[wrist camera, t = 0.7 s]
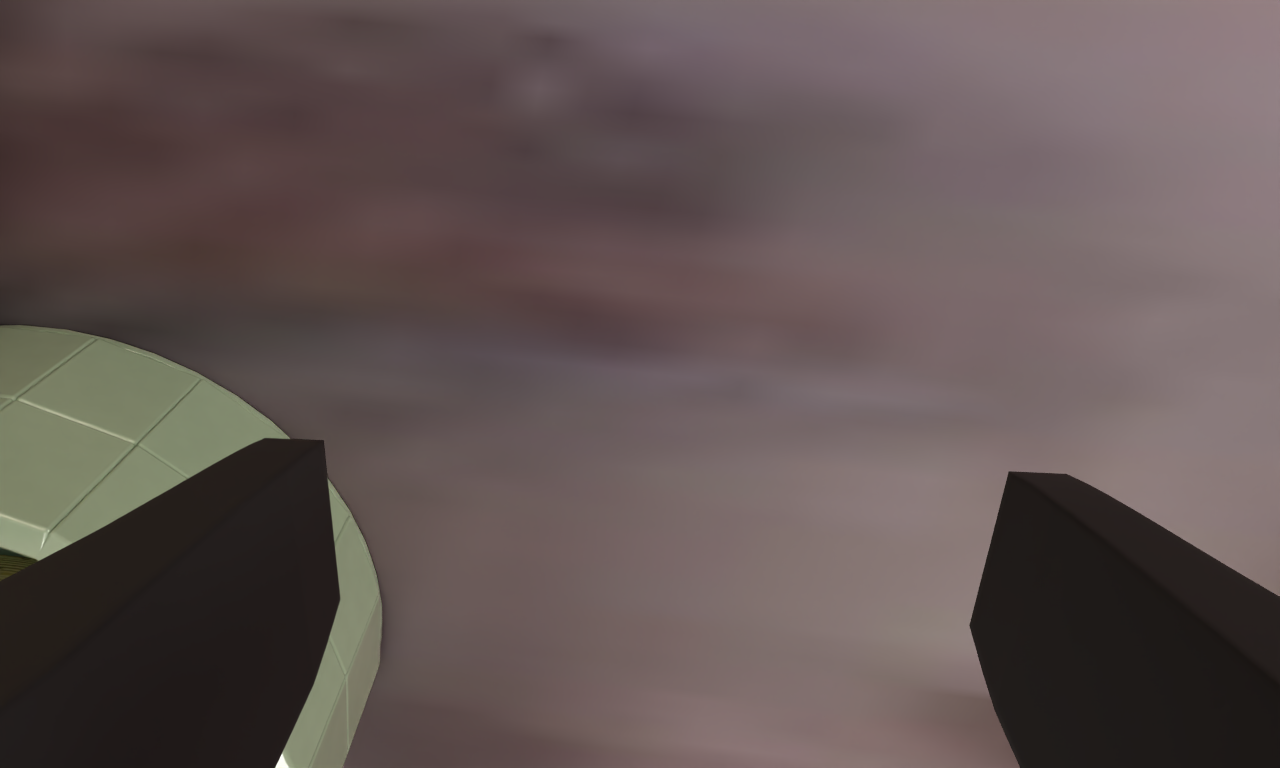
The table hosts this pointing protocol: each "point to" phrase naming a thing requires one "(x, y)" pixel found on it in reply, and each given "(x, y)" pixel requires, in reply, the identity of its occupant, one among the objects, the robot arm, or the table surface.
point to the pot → (159, 486)
